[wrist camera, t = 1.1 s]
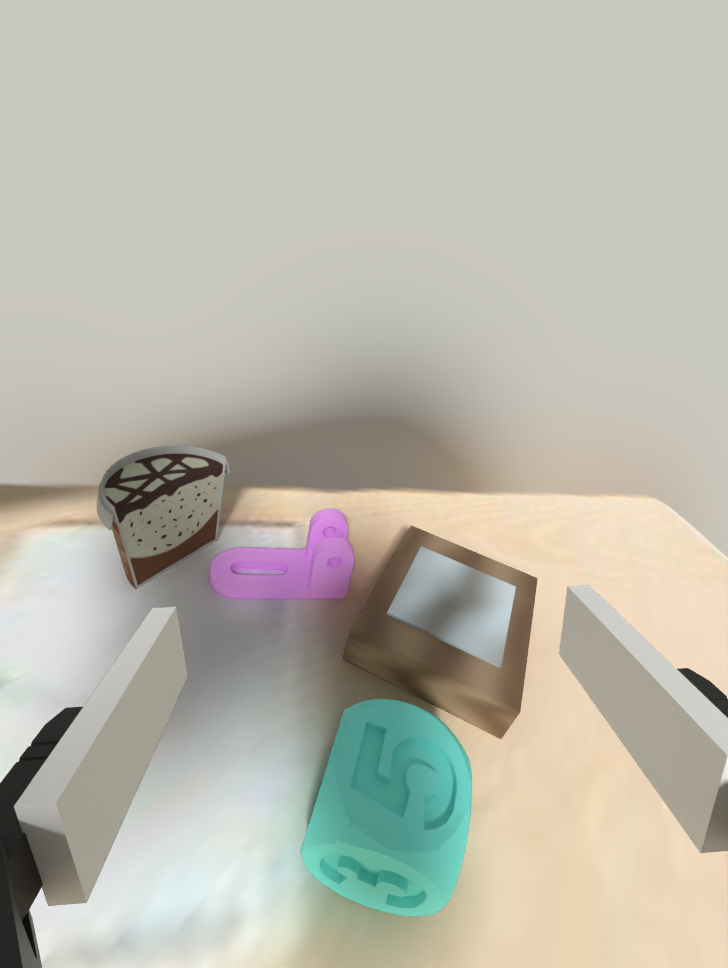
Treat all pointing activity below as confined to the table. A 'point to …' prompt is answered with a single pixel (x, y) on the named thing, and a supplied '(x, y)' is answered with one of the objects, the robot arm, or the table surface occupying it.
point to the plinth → (449, 630)
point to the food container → (162, 507)
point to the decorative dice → (391, 810)
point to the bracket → (291, 565)
